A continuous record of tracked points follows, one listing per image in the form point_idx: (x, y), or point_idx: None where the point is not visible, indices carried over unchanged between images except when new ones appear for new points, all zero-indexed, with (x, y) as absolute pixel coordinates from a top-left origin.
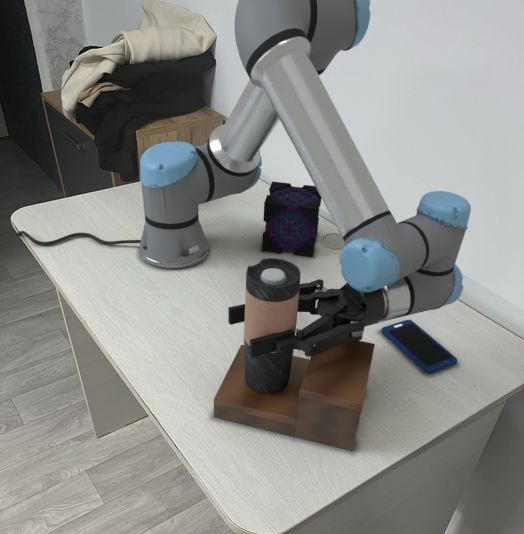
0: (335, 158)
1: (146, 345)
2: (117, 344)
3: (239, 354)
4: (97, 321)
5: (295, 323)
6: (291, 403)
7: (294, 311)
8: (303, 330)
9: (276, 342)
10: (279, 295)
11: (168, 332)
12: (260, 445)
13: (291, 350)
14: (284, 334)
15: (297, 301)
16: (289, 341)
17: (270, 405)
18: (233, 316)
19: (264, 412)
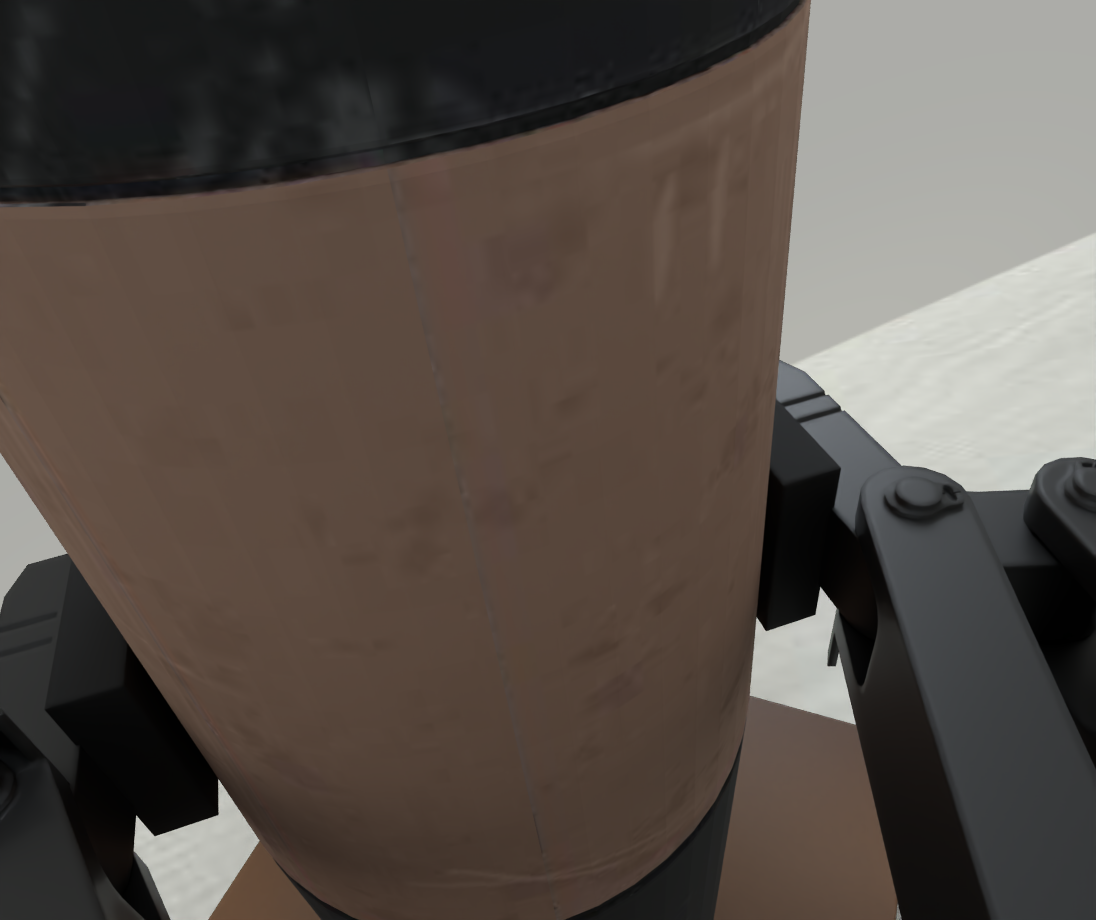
0: None
1: (898, 426)
2: (876, 356)
3: (799, 727)
4: (994, 297)
5: (231, 745)
6: None
7: (52, 515)
8: (31, 858)
9: (67, 562)
10: None
11: (1026, 481)
12: (193, 901)
13: (318, 912)
14: (68, 597)
15: (33, 420)
16: (4, 684)
17: (283, 905)
18: None
19: (247, 863)
